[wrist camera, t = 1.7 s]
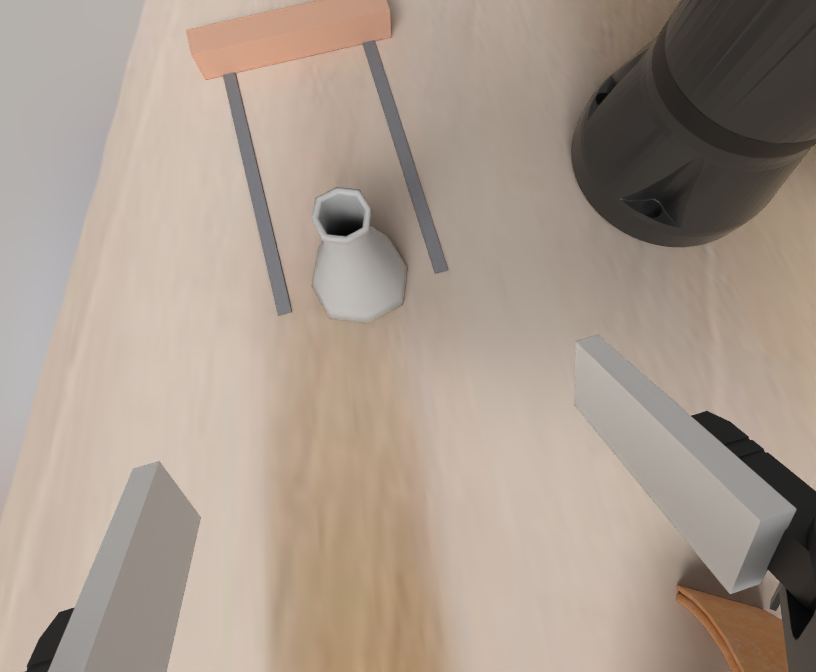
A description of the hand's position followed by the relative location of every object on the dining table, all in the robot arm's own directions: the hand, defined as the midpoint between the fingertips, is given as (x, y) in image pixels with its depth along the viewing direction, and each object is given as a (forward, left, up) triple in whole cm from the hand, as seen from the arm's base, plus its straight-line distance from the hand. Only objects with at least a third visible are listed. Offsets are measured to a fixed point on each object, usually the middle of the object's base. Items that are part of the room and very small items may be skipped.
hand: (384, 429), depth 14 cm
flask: (0, -11, -17) cm, 21 cm away
